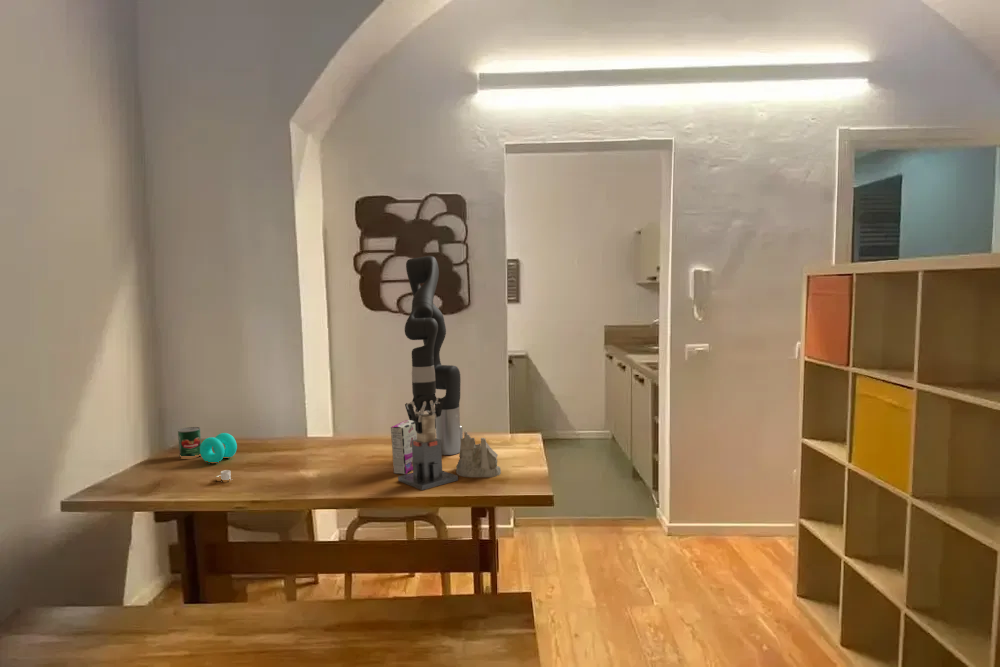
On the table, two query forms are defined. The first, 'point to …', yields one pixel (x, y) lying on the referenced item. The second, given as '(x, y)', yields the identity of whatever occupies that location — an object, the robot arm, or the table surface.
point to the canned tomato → (189, 441)
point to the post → (427, 429)
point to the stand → (427, 466)
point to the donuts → (218, 447)
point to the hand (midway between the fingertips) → (425, 431)
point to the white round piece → (225, 475)
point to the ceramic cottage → (476, 459)
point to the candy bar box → (403, 446)
